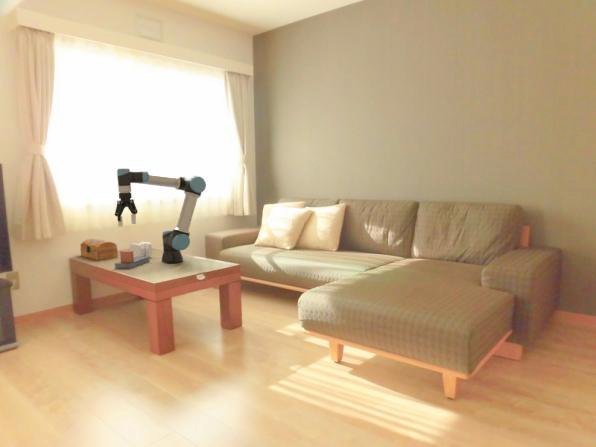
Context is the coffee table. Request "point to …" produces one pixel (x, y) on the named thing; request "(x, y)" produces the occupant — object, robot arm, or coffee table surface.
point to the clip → (127, 256)
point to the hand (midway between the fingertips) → (127, 225)
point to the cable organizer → (141, 249)
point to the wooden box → (98, 249)
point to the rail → (136, 262)
